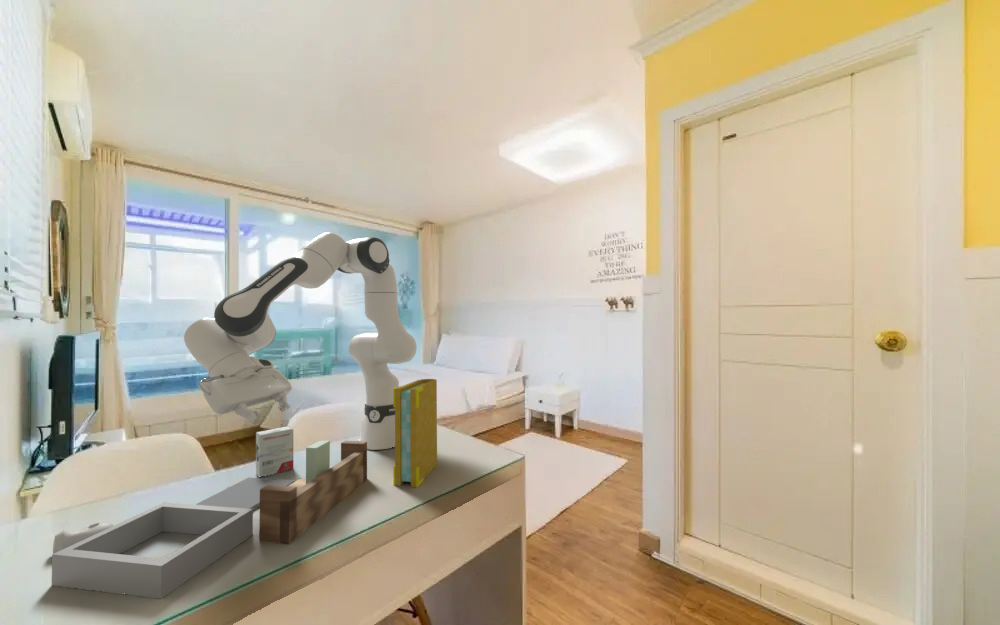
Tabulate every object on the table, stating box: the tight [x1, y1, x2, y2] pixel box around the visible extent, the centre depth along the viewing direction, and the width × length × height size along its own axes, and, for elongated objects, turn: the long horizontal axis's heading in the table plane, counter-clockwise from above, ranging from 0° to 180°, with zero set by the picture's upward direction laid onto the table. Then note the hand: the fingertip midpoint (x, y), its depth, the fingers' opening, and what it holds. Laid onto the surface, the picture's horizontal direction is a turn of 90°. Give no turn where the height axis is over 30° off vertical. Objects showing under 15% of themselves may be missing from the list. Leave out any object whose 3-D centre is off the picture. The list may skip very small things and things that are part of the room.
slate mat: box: [194, 477, 296, 511], centre depth 86 cm, size 18×14×1 cm
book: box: [393, 378, 438, 488], centre depth 101 cm, size 17×7×25 cm, turn 168°
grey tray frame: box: [51, 502, 254, 600], centre depth 65 cm, size 17×21×5 cm
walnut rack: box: [258, 440, 368, 545], centre depth 83 cm, size 29×6×10 cm, turn 172°
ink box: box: [255, 425, 294, 478], centre depth 103 cm, size 9×5×12 cm, turn 134°
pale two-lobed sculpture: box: [52, 522, 115, 554], centre depth 69 cm, size 4×8×5 cm
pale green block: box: [305, 440, 331, 484], centre depth 84 cm, size 5×2×14 cm, turn 172°
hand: (272, 414), depth 86 cm, fingers open, 8 cm apart
